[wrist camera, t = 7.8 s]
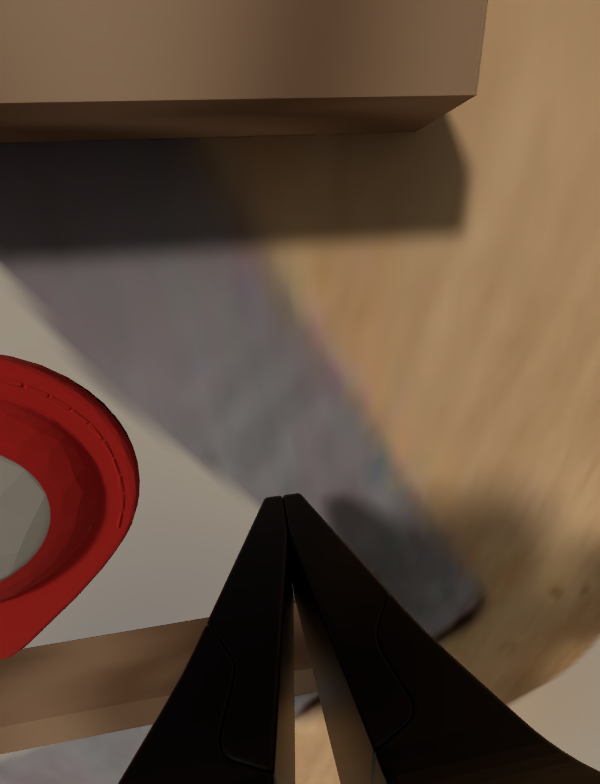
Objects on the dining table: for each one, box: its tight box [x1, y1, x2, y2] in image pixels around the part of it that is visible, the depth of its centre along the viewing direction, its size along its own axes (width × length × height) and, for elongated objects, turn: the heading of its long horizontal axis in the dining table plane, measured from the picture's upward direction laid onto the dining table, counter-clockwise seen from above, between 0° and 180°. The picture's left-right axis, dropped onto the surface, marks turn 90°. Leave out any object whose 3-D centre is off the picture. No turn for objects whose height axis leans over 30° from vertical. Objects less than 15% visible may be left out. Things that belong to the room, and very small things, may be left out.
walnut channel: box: [0, 0, 488, 754], centre depth 10 cm, size 18×19×2 cm
